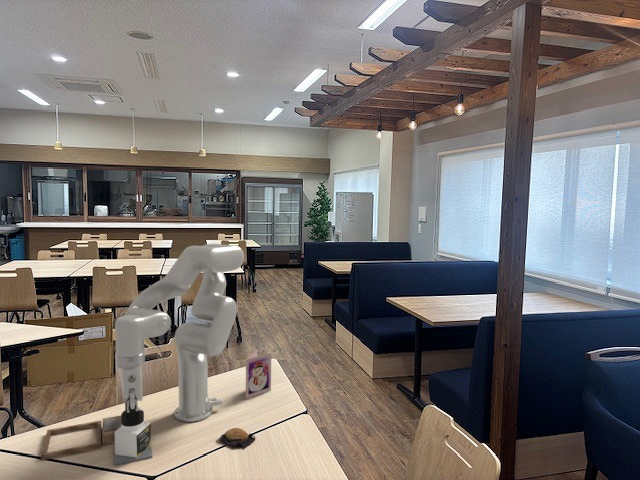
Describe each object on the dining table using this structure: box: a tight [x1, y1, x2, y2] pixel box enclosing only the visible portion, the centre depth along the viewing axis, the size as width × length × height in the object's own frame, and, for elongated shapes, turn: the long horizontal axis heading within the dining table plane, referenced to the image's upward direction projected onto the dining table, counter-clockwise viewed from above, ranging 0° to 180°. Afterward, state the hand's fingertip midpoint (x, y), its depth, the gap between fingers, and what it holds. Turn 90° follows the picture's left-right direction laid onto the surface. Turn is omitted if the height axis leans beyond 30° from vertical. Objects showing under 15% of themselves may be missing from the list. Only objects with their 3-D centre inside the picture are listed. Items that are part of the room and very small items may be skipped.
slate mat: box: [113, 444, 154, 466], centre depth 131 cm, size 10×10×1 cm
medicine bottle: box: [114, 407, 152, 458], centre depth 131 cm, size 7×7×12 cm
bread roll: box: [215, 427, 256, 450], centre depth 138 cm, size 11×8×4 cm
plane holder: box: [40, 415, 121, 461], centre depth 138 cm, size 26×15×6 cm, turn 115°
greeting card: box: [245, 349, 272, 400], centre depth 171 cm, size 11×7×15 cm, turn 132°
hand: (131, 416), depth 130 cm, fingers open, 9 cm apart
